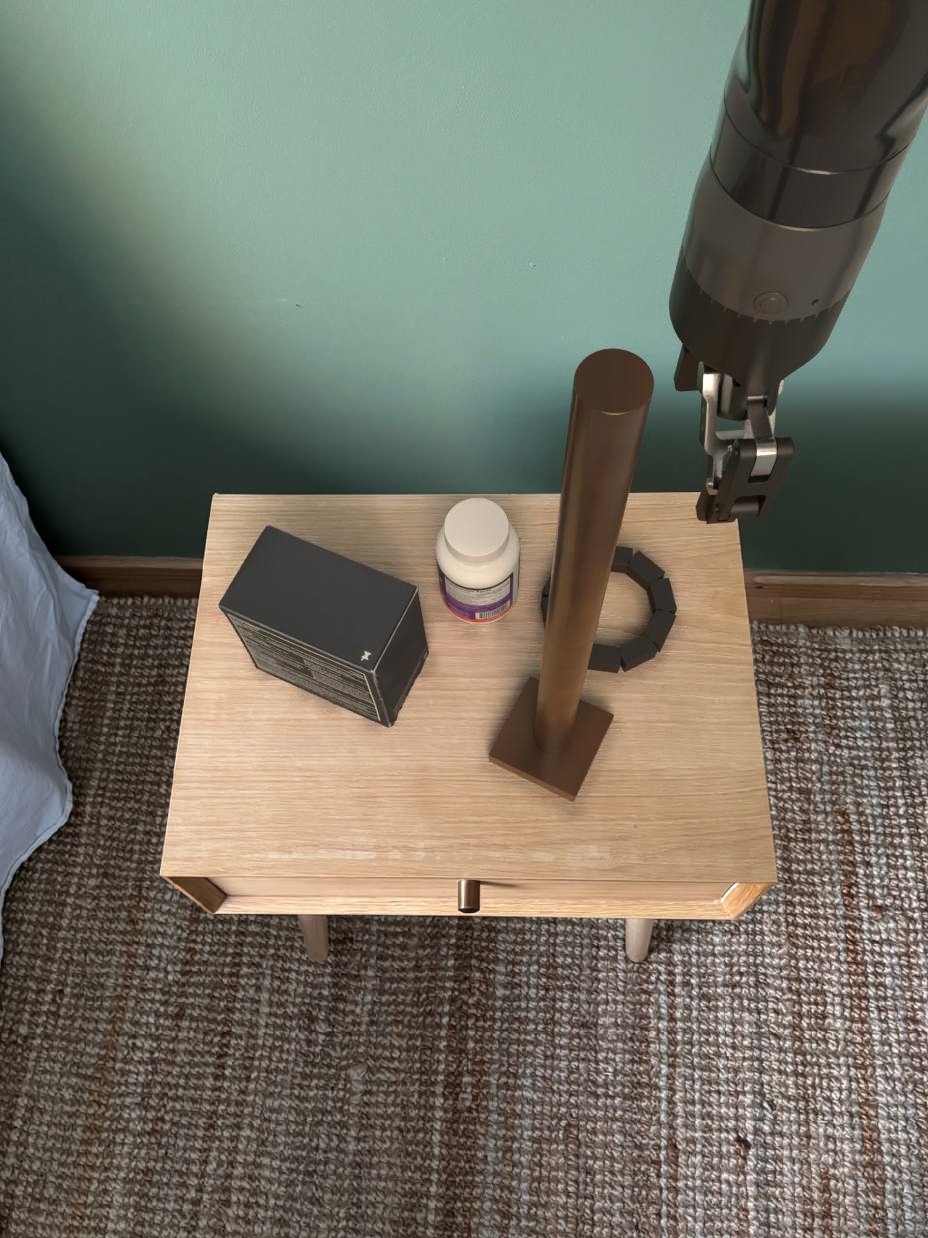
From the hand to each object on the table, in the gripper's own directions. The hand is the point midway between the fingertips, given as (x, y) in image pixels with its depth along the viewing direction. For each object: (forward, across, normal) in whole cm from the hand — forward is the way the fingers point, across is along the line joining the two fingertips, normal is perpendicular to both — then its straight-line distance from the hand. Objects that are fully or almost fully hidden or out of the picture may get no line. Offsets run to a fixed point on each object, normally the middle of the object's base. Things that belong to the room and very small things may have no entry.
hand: (702, 448), depth 59 cm
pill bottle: (+15, -1, +13) cm, 20 cm away
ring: (+14, -4, +4) cm, 16 cm away
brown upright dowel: (+14, -12, +9) cm, 21 cm away
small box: (+15, -6, +22) cm, 27 cm away
